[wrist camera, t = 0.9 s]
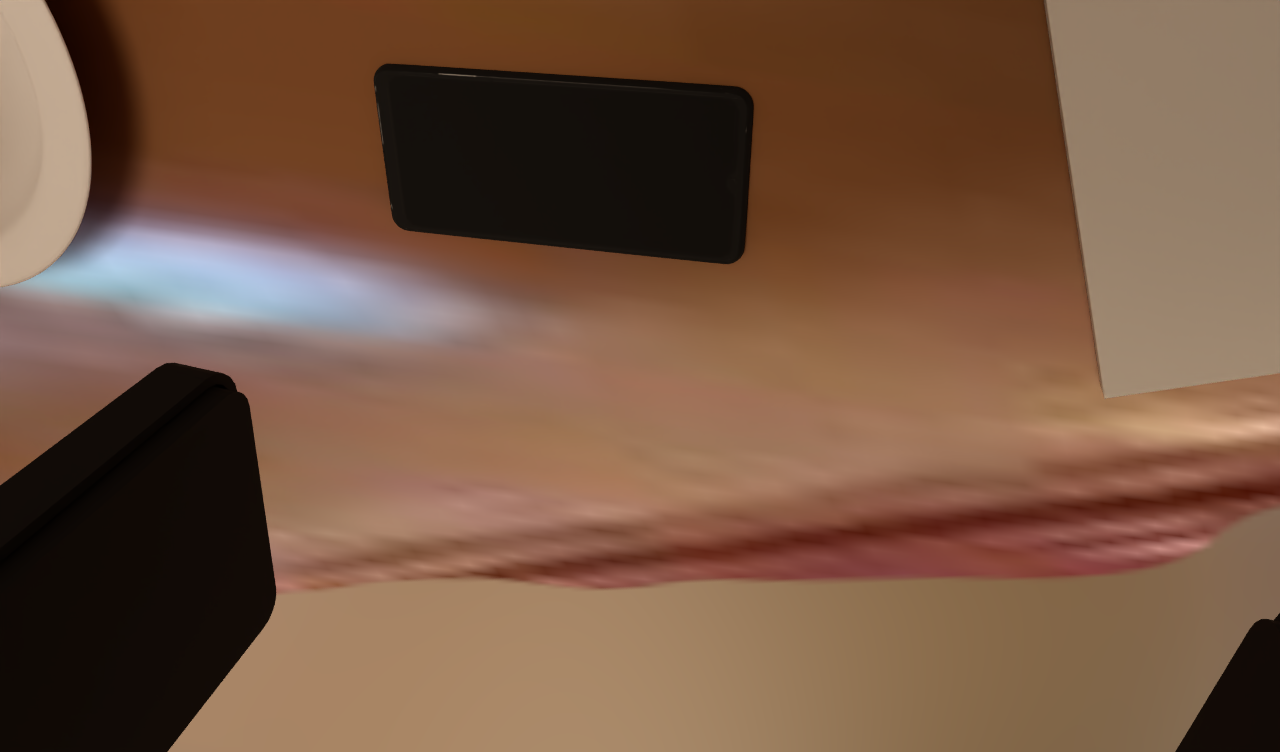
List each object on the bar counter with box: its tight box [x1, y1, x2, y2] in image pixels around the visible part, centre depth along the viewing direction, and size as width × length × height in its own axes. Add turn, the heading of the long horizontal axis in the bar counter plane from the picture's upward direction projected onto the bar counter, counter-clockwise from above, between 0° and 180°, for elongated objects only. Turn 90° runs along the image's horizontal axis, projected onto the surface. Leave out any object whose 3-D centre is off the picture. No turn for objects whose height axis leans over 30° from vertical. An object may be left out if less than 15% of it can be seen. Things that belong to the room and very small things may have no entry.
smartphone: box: [374, 64, 753, 264], centre depth 38 cm, size 7×1×15 cm
